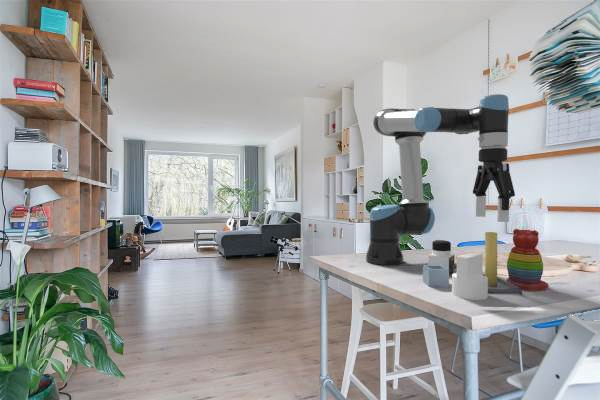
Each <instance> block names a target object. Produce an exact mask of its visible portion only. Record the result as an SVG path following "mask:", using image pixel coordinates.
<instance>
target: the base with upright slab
mask: <svg viewBox="0 0 600 400" xmlns="http://www.w3.org/2000/svg"><path fill="white" fill-rule="evenodd" d="M483 257H484V255H483V253H479V252H469V253H465V254H461V255H456V272H453V273H452V274H451V294H452V295H453V296H455V297H458V298H460V299H464V300H471V301H481V300H486V299H488V295H489V293H488V278H487V277H486V276H485V275H483V267H484V266H483V261H484V260H483Z"/></svg>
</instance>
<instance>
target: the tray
mask: <svg viewBox="0 0 600 400" xmlns="http://www.w3.org/2000/svg"><path fill="white" fill-rule="evenodd" d="M488 294H519V295H520V296H522V295H523V290H522V289H521V288H519V287H517V286H515V285H513V284H511V283H509V282H507V280H506V279H503V278H501V277H500V276H498V275H497V286H496V287H491V286H488Z"/></svg>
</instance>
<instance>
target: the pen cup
mask: <svg viewBox="0 0 600 400" xmlns="http://www.w3.org/2000/svg"><path fill="white" fill-rule="evenodd" d="M422 282H423V283H424V284H426V286H427V287H435V288H438V287H439V288H441V287H442V288H444V287H445V288H448V287H450V275H449V269H447V268H446V267H444V266H443V265H428V264H423V265H422Z"/></svg>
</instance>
